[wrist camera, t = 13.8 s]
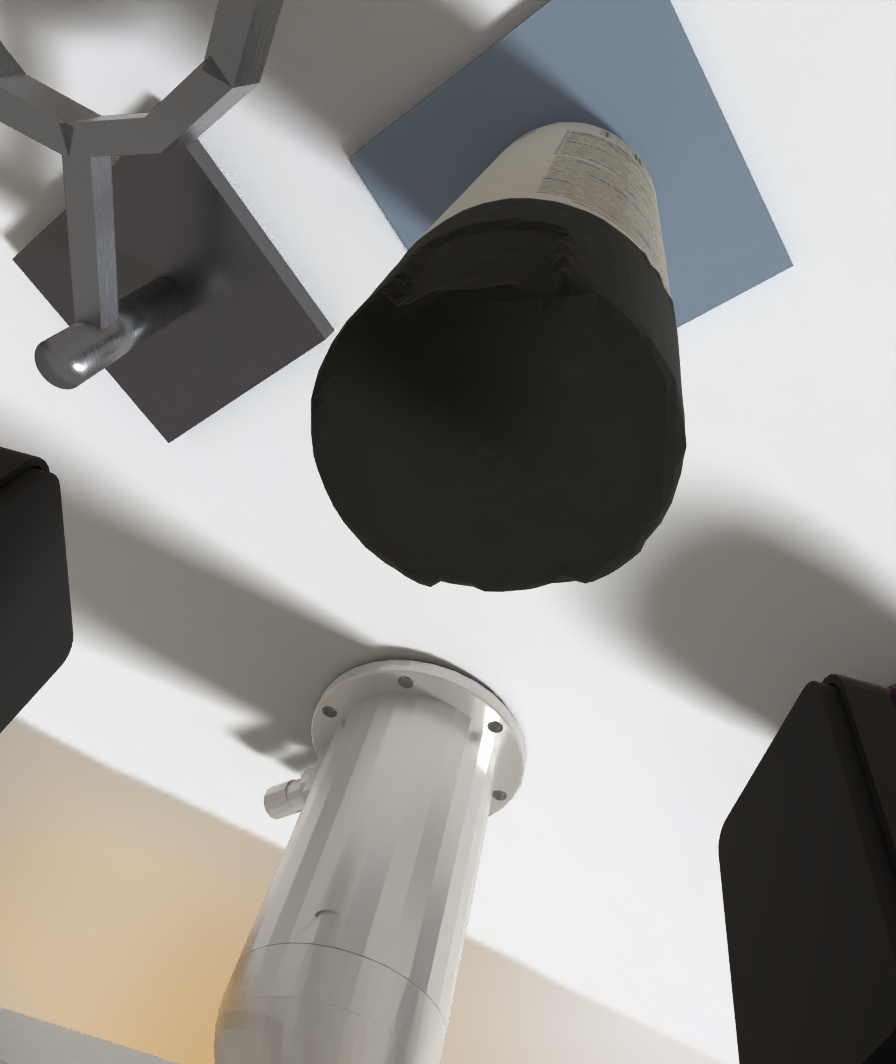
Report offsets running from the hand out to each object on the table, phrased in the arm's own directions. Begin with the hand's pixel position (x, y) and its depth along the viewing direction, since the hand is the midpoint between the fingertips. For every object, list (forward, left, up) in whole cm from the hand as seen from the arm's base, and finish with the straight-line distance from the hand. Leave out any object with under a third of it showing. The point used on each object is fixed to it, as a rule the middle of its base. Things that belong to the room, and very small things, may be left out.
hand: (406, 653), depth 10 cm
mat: (0, 0, -25) cm, 25 cm away
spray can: (0, 0, -25) cm, 25 cm away
